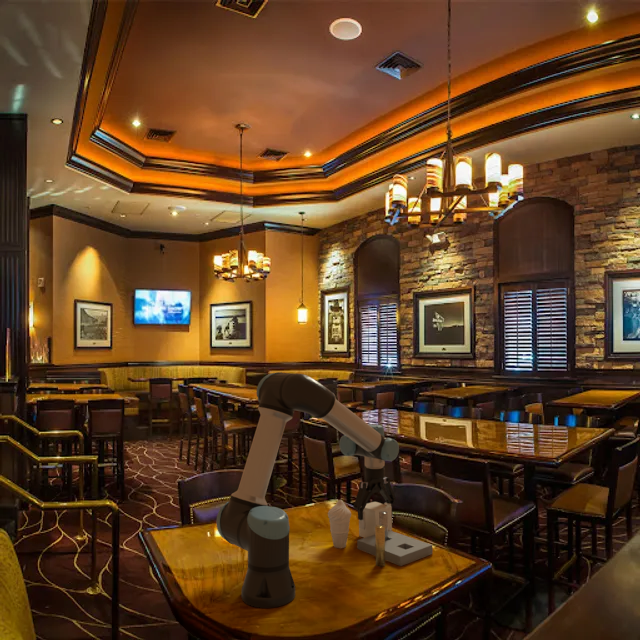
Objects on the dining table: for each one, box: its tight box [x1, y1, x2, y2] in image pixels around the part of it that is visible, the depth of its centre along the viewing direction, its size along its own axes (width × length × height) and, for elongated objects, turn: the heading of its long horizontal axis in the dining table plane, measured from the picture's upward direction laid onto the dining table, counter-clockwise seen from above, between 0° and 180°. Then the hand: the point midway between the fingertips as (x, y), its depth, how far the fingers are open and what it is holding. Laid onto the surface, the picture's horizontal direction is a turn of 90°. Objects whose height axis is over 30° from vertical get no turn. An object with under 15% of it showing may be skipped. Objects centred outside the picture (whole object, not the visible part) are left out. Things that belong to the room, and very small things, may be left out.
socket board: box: [356, 530, 434, 567], centre depth 184 cm, size 16×20×3 cm
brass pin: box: [375, 525, 386, 568], centre depth 173 cm, size 3×3×12 cm
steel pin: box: [379, 511, 388, 541], centre depth 188 cm, size 3×3×12 cm
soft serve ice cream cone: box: [327, 499, 352, 549], centre depth 190 cm, size 8×8×16 cm
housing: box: [358, 501, 393, 538], centre depth 200 cm, size 9×9×11 cm
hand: (375, 524), depth 200 cm, fingers open, 13 cm apart
